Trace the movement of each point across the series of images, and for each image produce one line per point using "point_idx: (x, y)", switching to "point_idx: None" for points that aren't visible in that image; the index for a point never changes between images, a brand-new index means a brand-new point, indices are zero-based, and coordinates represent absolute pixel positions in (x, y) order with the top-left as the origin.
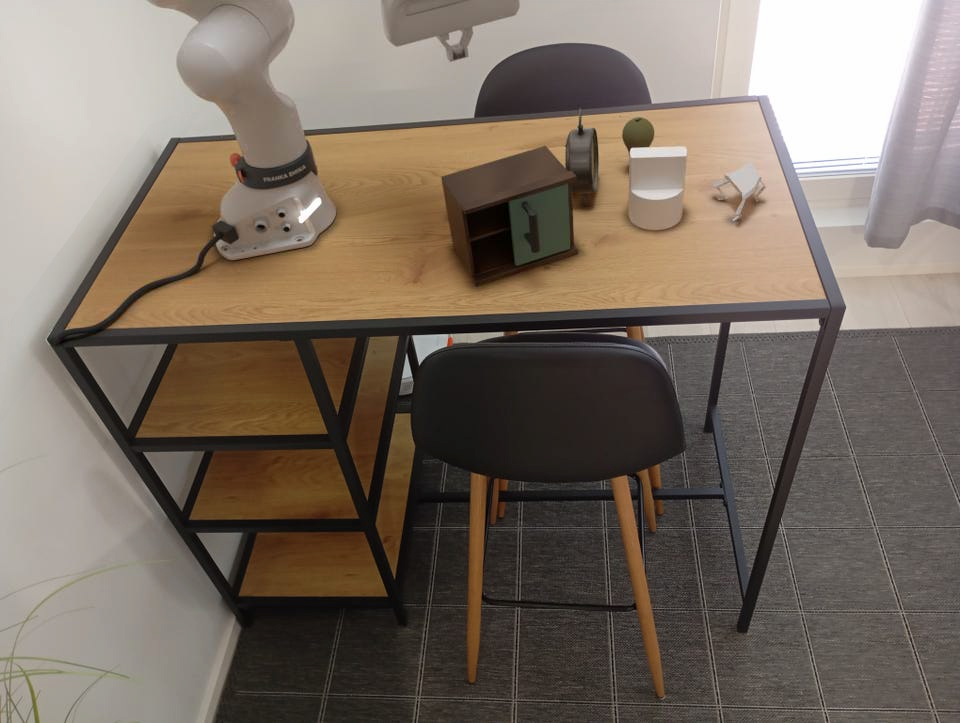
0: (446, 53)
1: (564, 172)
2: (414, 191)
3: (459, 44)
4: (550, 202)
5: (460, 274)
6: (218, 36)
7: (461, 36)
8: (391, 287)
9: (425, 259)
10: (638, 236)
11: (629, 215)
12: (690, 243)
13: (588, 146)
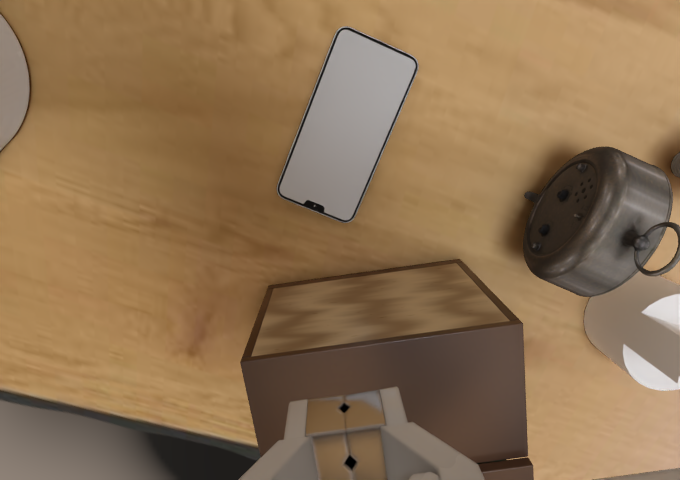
0: (288, 412)
1: (518, 443)
2: (213, 59)
3: (375, 444)
4: None
5: None
6: None
7: (406, 445)
8: (149, 353)
9: (214, 301)
10: (575, 359)
11: (588, 315)
12: (637, 399)
13: (618, 281)
